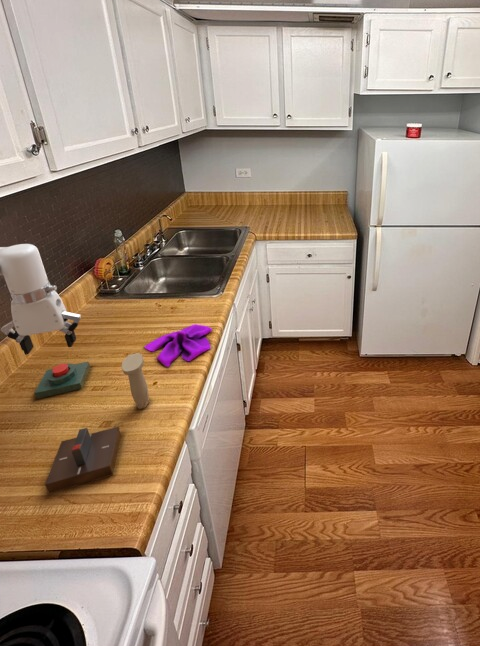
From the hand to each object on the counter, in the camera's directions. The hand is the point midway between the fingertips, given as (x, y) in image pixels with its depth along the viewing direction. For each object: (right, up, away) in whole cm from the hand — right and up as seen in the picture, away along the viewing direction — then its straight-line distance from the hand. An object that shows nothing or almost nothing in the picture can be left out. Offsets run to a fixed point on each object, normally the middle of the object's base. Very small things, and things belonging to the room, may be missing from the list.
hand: (51, 347), depth 89 cm
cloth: (+25, -8, +24) cm, 35 cm away
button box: (-3, -14, +9) cm, 17 cm away
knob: (+18, -19, -13) cm, 30 cm away
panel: (+18, -22, -12) cm, 31 cm away
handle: (+24, -17, +2) cm, 29 cm away
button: (-3, -10, +8) cm, 13 cm away
